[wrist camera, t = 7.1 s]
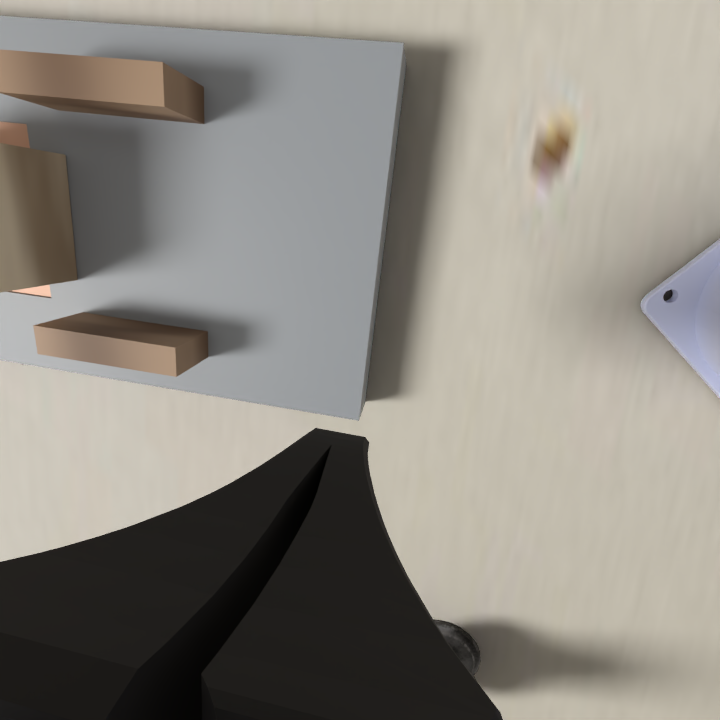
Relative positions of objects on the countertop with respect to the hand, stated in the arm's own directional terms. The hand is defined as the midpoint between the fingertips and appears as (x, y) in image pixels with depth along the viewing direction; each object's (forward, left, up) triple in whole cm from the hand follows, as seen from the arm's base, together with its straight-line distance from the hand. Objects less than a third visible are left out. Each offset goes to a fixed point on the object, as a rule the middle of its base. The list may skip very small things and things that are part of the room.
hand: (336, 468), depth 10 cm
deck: (+5, -14, -10) cm, 18 cm away
